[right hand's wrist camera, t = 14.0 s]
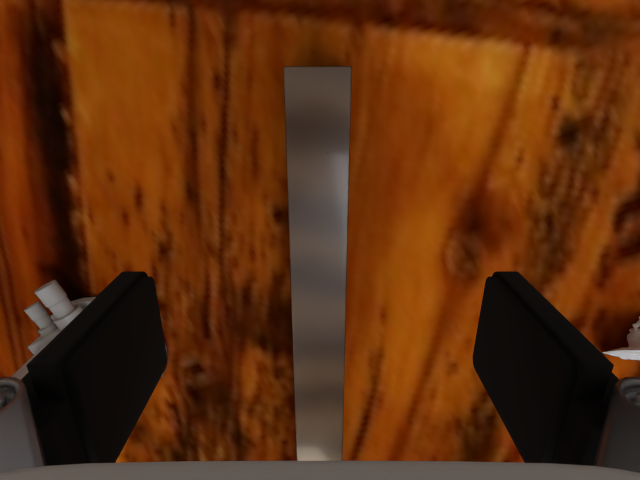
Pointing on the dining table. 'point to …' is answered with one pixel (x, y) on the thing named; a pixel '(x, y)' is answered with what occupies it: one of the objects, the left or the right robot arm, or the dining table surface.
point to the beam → (318, 250)
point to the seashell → (636, 340)
